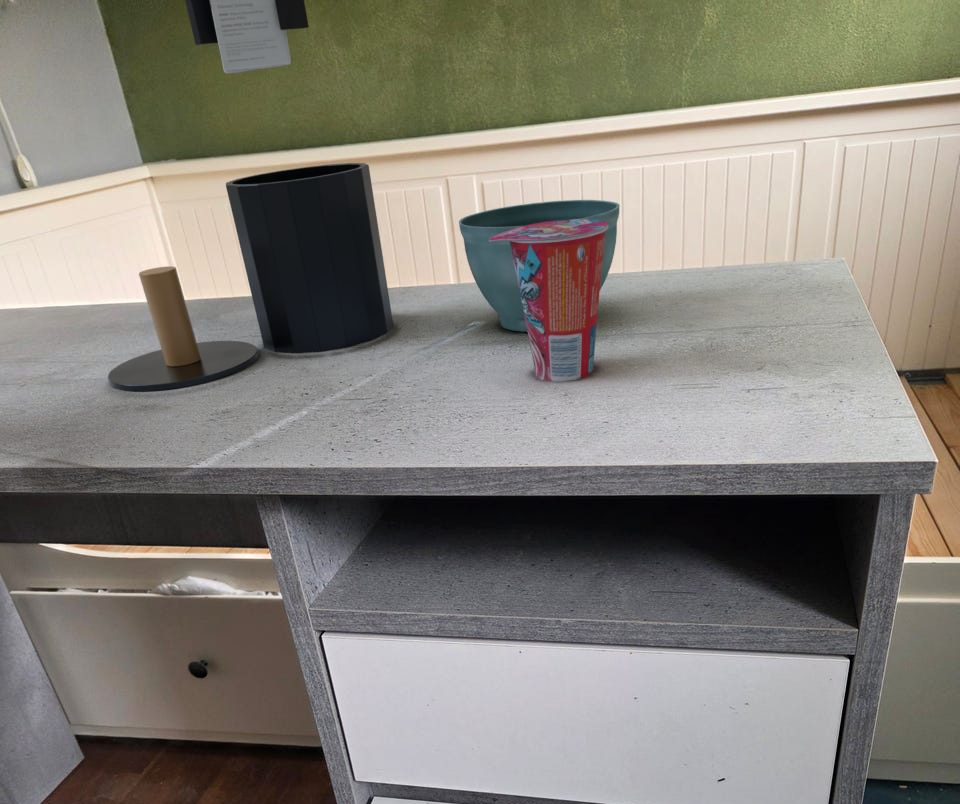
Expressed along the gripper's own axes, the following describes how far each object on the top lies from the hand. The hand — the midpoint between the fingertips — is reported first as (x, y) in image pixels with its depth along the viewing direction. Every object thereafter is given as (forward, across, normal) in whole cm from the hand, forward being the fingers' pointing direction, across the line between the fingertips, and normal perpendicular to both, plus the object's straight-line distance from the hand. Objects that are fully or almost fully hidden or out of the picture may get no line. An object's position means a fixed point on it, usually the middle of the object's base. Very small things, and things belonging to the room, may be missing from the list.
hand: (250, 36), depth 76 cm
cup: (+28, -28, -1) cm, 40 cm away
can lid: (+27, +12, +7) cm, 31 cm away
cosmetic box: (+3, 0, 0) cm, 3 cm away
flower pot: (+28, -18, -17) cm, 37 cm away
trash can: (+28, +4, -7) cm, 29 cm away
